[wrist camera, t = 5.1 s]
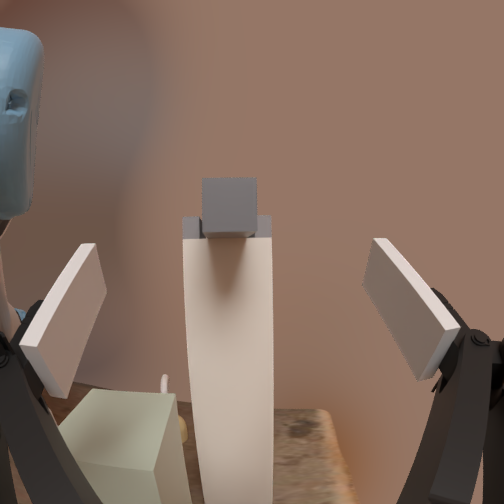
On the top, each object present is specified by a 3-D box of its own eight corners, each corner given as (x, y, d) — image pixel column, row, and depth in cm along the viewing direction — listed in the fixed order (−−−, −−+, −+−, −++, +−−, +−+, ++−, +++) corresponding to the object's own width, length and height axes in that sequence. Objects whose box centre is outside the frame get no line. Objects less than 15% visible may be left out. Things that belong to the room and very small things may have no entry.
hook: (159, 429, 48) (150, 369, 48) (188, 429, 49) (182, 368, 49) (155, 447, 42) (145, 382, 42) (187, 447, 43) (180, 383, 43)
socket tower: (205, 510, 28) (182, 216, 28) (207, 451, 42) (194, 228, 42) (272, 506, 29) (271, 215, 29) (258, 449, 43) (254, 227, 43)
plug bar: (202, 232, 20) (202, 178, 20) (211, 242, 40) (210, 215, 40) (257, 231, 21) (256, 177, 21) (239, 242, 40) (238, 214, 40)
